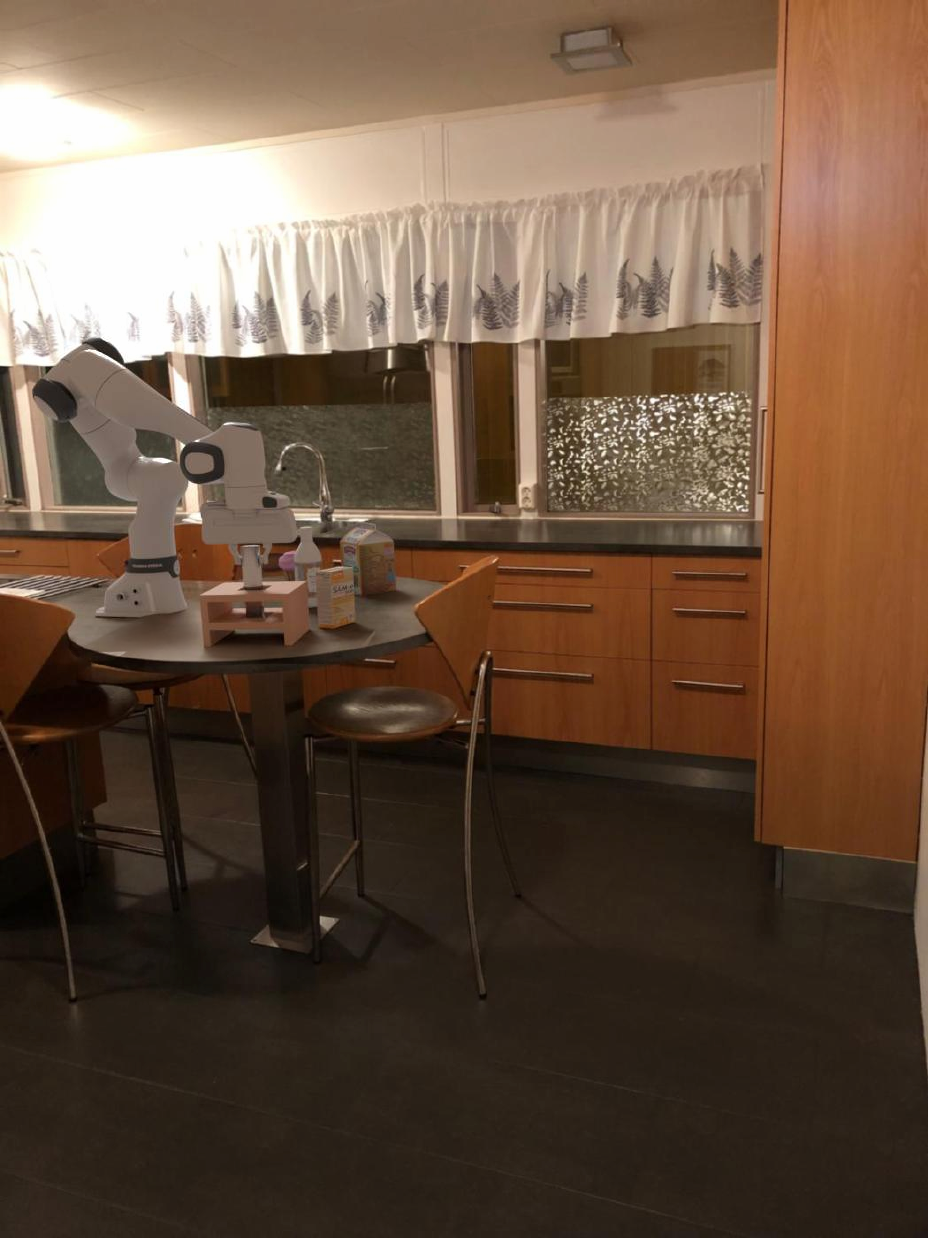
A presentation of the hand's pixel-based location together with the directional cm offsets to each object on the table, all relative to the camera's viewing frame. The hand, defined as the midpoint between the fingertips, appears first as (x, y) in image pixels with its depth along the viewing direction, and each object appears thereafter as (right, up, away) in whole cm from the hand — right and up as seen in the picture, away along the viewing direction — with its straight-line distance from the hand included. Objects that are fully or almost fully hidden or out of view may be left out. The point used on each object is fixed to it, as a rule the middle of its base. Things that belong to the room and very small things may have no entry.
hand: (251, 564), depth 212 cm
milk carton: (+20, -5, +54) cm, 58 cm away
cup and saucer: (-13, +2, +92) cm, 93 cm away
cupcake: (-2, -2, +71) cm, 71 cm away
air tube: (0, -12, +2) cm, 12 cm away
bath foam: (+7, -9, +38) cm, 40 cm away
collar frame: (+1, -16, +3) cm, 16 cm away
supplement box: (+17, -13, +14) cm, 26 cm away
